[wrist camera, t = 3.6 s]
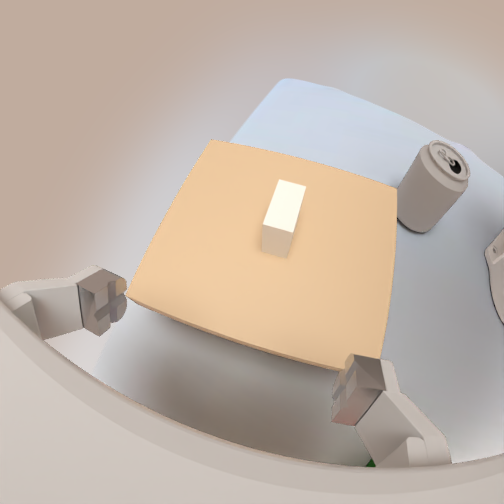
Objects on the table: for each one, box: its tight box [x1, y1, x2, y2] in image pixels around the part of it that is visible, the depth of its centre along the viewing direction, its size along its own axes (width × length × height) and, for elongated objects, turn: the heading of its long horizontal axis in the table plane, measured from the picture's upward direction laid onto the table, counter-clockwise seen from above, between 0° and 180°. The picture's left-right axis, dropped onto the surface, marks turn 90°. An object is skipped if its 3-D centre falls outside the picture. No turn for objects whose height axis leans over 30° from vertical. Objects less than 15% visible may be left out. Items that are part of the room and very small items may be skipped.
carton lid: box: [126, 139, 397, 371], centre depth 21 cm, size 18×20×6 cm
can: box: [397, 140, 470, 232], centre depth 29 cm, size 8×8×12 cm
